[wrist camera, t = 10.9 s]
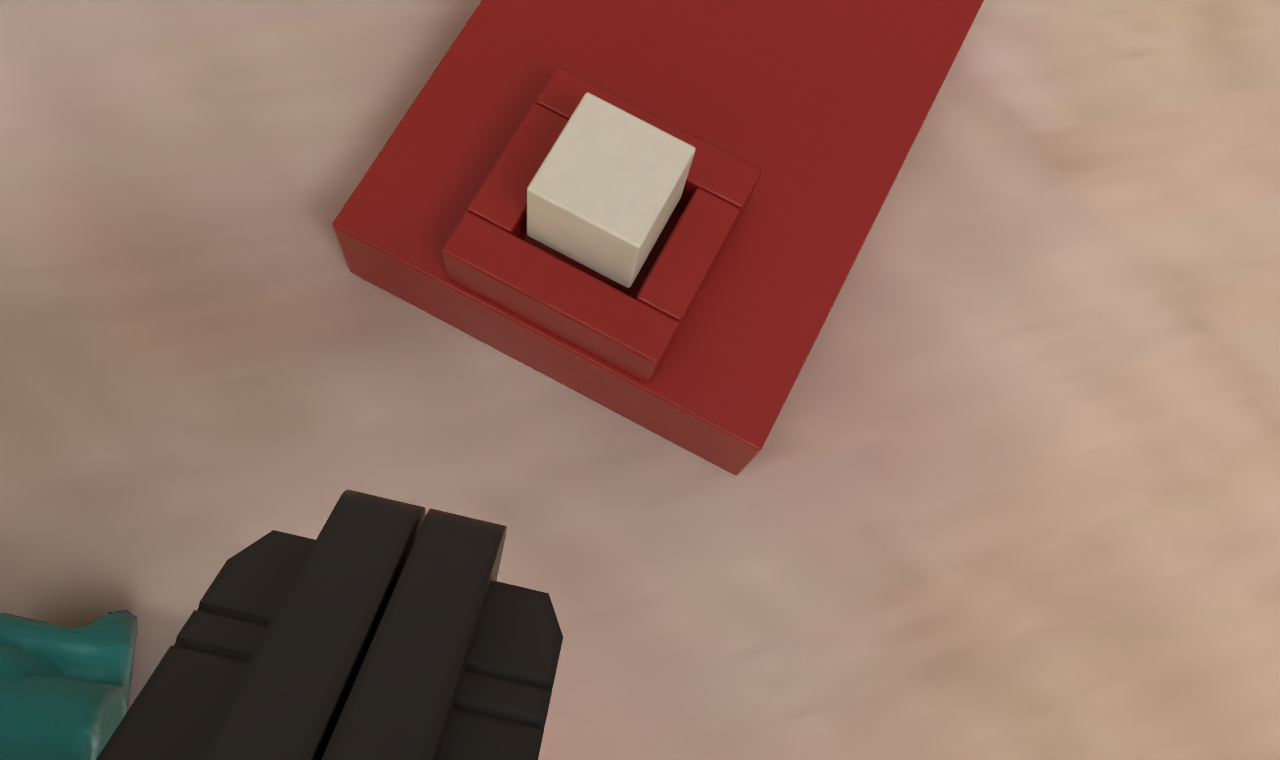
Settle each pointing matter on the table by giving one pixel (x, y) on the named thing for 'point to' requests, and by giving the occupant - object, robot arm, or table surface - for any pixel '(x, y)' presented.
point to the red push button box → (704, 216)
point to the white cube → (607, 189)
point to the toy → (63, 685)
